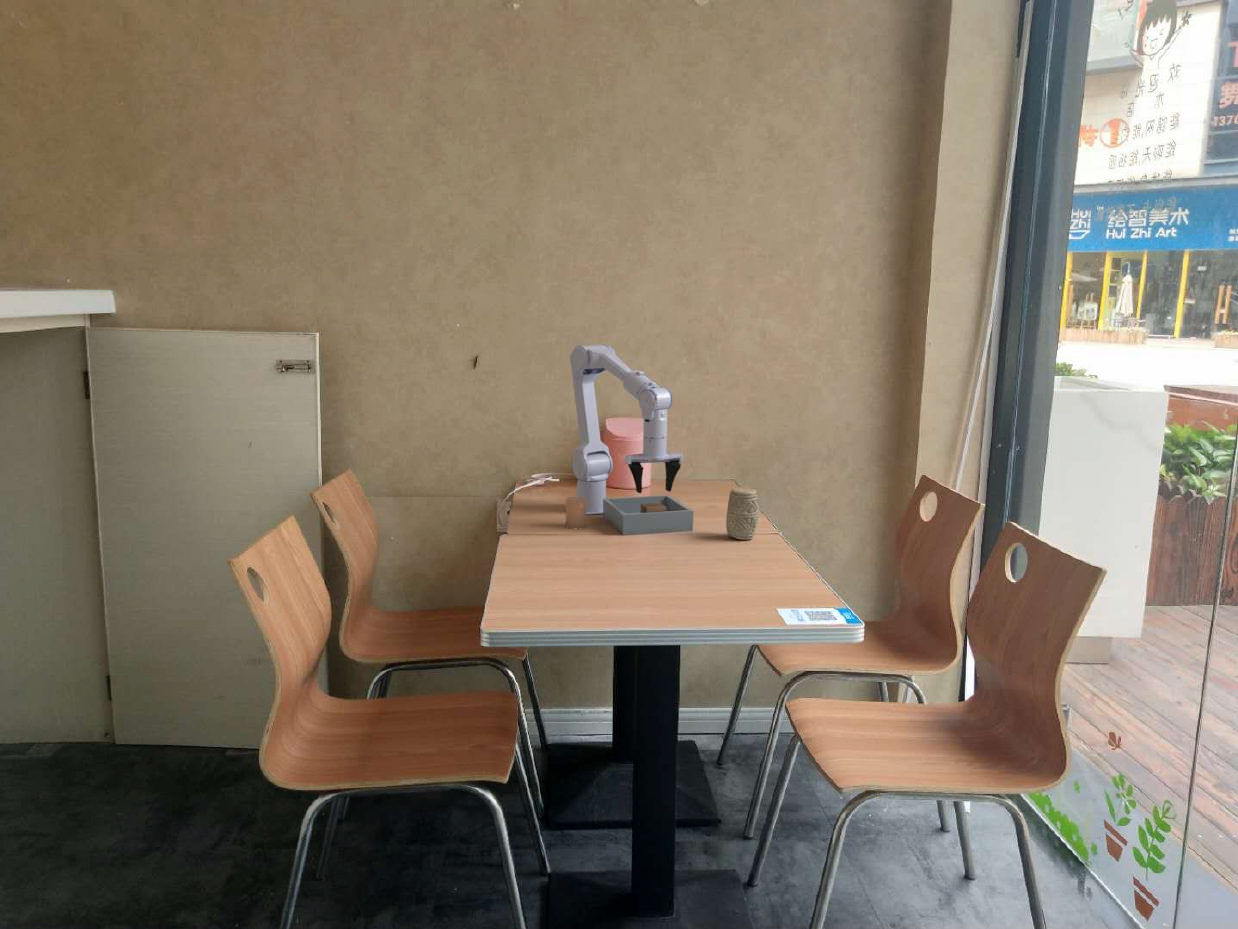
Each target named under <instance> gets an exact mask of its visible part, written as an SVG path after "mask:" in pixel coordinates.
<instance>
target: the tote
mask: <svg viewBox="0 0 1238 929" xmlns="http://www.w3.org/2000/svg"><path fill="white" fill-rule="evenodd" d="M643 503H661V504H663V505H664V506H666V512H651V513H640V509H641V504H643ZM602 518H603V519H604V520H605V521H606V522H607V523H609V525H611V526H612V527H613V528H614V529H615V528H616V530H617V532H619V534H621V535H622V536H632V535H633V534H636V535H647V534H661V533H676V532H677V533H678V532H689V531H691V532H692V531H694V510H692V509H691V508H690V507H688V506H686V505H685V504H683V503H682V502H680V501H678V499H676V498H674V497H672V496H671V495H669V494H662V495H661V494H660V495H659V494H658V495H646V496H645V495H643V496H628V497H627V496H626V497H625V496H624V497H611V498H607V497H606V499H603V514H602Z"/></svg>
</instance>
